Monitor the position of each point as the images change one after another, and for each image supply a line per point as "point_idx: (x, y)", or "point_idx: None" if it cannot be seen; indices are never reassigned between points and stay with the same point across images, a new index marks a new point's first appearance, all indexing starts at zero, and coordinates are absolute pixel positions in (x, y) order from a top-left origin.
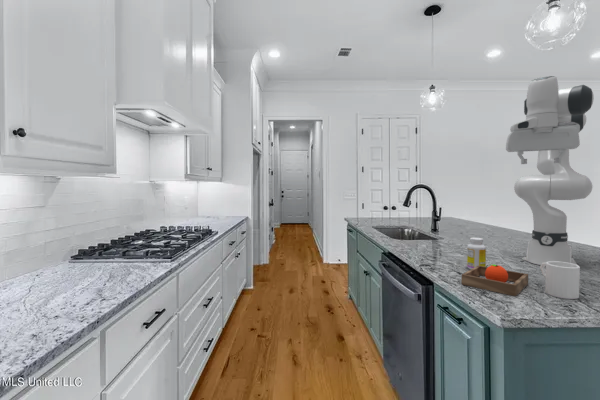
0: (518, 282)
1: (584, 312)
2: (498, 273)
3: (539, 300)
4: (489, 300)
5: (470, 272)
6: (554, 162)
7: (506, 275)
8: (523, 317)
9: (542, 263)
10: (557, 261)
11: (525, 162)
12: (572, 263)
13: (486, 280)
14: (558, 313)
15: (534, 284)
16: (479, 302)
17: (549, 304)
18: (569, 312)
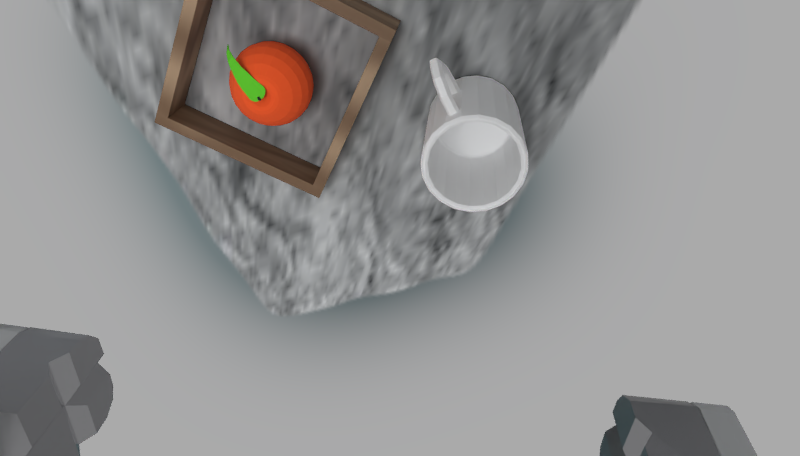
0: (333, 163)
1: (465, 249)
2: (271, 125)
3: (385, 194)
4: (255, 231)
5: (180, 69)
6: (617, 422)
7: (301, 113)
8: (318, 309)
9: (433, 80)
10: (476, 120)
11: (76, 421)
12: (520, 144)
13: (237, 158)
14: (400, 270)
15: (423, 19)
16: (231, 251)
17: (401, 218)
18: (429, 258)
